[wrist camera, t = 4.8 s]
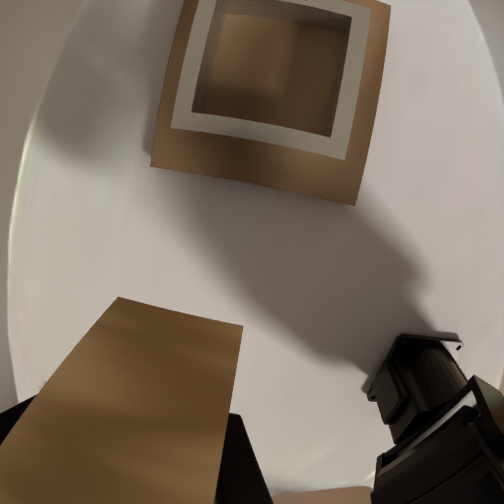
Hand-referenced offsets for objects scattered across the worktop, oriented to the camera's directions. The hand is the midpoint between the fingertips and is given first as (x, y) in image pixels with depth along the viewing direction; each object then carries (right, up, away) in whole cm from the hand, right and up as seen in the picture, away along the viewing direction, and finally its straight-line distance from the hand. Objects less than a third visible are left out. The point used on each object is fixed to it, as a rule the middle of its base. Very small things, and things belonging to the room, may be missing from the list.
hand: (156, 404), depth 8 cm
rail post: (0, +1, +2) cm, 2 cm away
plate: (+4, +14, +7) cm, 16 cm away
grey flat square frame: (+4, +13, +6) cm, 15 cm away
